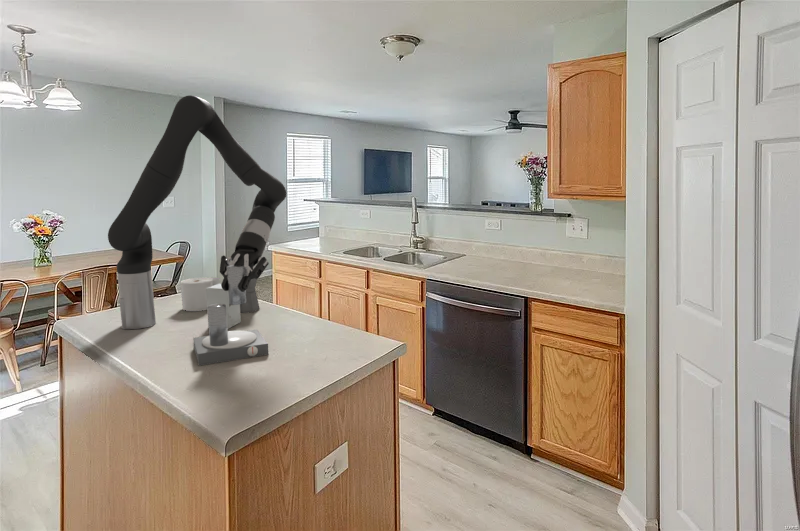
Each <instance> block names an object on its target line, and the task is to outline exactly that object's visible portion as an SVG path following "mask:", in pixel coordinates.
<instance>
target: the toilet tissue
mask: <svg viewBox="0 0 800 531" xmlns="http://www.w3.org/2000/svg"><path fill="white" fill-rule="evenodd" d="M217 284H221V277H213V276H211V277H209V276H206V277H191V278H186V279H182V280H181V281H180V294H181V303H182V304H181V306H182V307H181V308H182V311H185V310H186V312H200V311H201V312H202V310H203V311H207V299H206V288H208V287H211V286H214V285H217Z"/></svg>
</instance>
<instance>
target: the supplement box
mask: <svg viewBox="0 0 800 531" xmlns="http://www.w3.org/2000/svg"><path fill="white" fill-rule="evenodd" d="M221 284H222V283H220V284H217V285H214V286H211V287H208V288H206V299H207V306H208V305H212V304H225V305H226V315H227V330H229V329H231V328H232V327H234V326H236V325H238V324H240V323H241V319H242V318H241V313H240V305H231V304H229V293H228V291H224V290H223V288H222V286H221ZM206 312H207V314H206V315H208V309H207V310H206ZM207 325H208V326H207V327H208V328H209V322H208V321H207Z"/></svg>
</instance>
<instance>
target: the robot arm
mask: <svg viewBox="0 0 800 531" xmlns="http://www.w3.org/2000/svg"><path fill="white" fill-rule="evenodd" d="M198 132H199V133H201V134H202V135H203V136H204V137H205V138H206V139H207V140H209V141H210V142H211V144H212V145H213V146H214V147H215V148H216V150H217V151H218V152H219V154H220V155H221V157H222V159H223V161H224V162H225V163H226V165H227V166H228V167H229V169H230V170H231V171H232V172H233V173H234V174H235V175H236V176H237V178H238V179H239V180H240V181H241V182H242V183H243V184H244V185H245V186H248V187H251V186H254V185H255V186H256V187H257V188H259V191H258V193H256V196H255V198H254V201H253V204H252V209H251V211H250V213H249V216H248V218H247V221H246V223H245V225H244V226H243V228H242V230H241V233H240V234H239V237H238V239H237V241H236V244H235V247H234V251H233V253H232V254H231V255H230V256H226V255H225V254H224V255H221V257H220V263H219V264H220V265H219V273H220V274H221V276H223V279H222V281H221V283H220V284H221V286H222V288H223V290H224V291H228V279H227V266H231V265H243V266H244V270H245V273H244V275H245V276H243V278H242V280H241V283H240V285H239V290H240V291H241V292H245V290H246V289H247V288H248V285H249V283H250V281H251V280H252V279H254V278H255V279H257V280H258V279H260V276H261V275H262V274H263V272H264V271H265V270H266V268H267V267H268V265H269V261H268V259H267V258H266V257H265V256H263V253H264V251H265V248H266V245H267V243H268V241H269V238H270V234H271V230H272V228H273V226H274V222H275V219H276V216H275V212H276V210H277V208H278V207H279V206H280V205H281V203H283V202H284V201H285V200H286V198H287V190H286V187H285V185H284V184H283V183H282V181H280V180H279V179H278V178H276V177H275V176H274V175H272V174H271V173H269V172H268V171H266V170H265V169H264V168H262V167H261V166H260V165H259V164H258V162H257V161H256V160H255V159H254V158H253V157H252V156H251V155H250V153H249V152H247V150H246V149H245V148H244V147H243V146H242V145H241V144H240V143H239V141H237V139H236V138H235V137H234V136H233V134H232V133H231V132H230V131H229V129H228V128H227V127H226V125H225V124H224V123H223V121H222V119H221V118H220V116H219V115H218V113H217V112H216V110H215V108H214V107H213V106H212V104H211V103H210V102H209V101H207V100H206V99H204V98H202V97H198V96H197V95H196V96H195V95H192V94H191V95H185V96H183V97H181V98H180V99H179V100H178V101H177V102H176V104H175V107H174V108H173V111H172V114H171V116H170V119H169V121H168V122H167V126H166V128H165V131H164V133H163V135H162V137H161V139H160V140H159V141H158V143H157V145H156V147H155V148H154V151H153V152H152V155H151V157H149V160H148V161H147V163H146V165H145V167H144V169H143V171H142V172H141V175H140V177H139V179H138V181H137V183H136V184H135V186H134V188H133V190H132V192H131V194H130V196H129V197H128V199H127V202H126V203H125V204H124V207H123V208H122V209H121V210H120V212H119V214H118V215H117V216H116V218H115V219H114V220H113V222H112V223H111V225H110V227H109V228H108V233H107V240H108V243H109V245H110V246H111V247H112V248H113V249H114V250H116V251H120V252H122V253H121V257H120V260H118V262H117V263H116V273H117V274H116V275H117V283H118V293H119V300H118V301H119V308H120V317H121V318H120V319H121V328H122V330H139V329H145V328H150V327H152V326H155V325H156V324H157V321H156V319H157V318H156V311H155V310H156V308H155V299H154V290H153V288H154V287H153V279H152V276H153V275H152V266H151V265H152V262H153V238H152V233H151V232H152V231H151V229H150V227H149V225H148V224H147V221H148V219H149V217H150V216H151V215H152V213H154V211H155V210H156V209H157V208H158V207H159V206H160V205H161V204H163V202H164V201H165V200H166V199H167V198H168V197H169V196H170V194H171V193H172V192H173V190H174V188H175V186H176V185H177V183H178V181H179V179H180V178H181V175H182V172H183V171H184V170H183V169H184V165H185V158H186V154H187V151H188V149H189V146H190V144H191V142H192V141H193V138H194V137H195V135H196V134H197V133H198ZM262 256H263V257H262ZM254 266H255V268H254Z"/></svg>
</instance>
